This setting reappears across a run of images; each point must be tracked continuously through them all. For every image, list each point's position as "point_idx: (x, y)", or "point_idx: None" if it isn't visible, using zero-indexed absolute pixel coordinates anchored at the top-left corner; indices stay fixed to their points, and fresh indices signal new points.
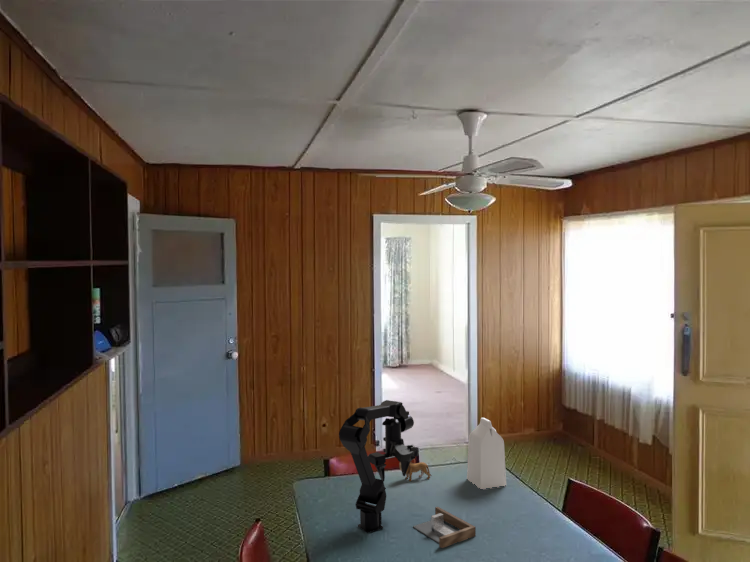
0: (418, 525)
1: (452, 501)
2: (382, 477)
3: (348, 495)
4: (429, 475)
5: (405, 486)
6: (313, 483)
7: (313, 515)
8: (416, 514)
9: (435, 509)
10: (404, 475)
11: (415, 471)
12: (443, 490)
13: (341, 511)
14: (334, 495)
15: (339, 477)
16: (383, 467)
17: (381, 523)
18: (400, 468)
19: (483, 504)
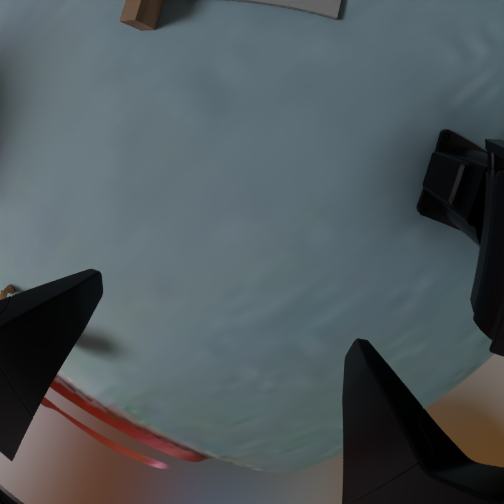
0: (310, 2)
1: (26, 106)
2: (391, 374)
3: (269, 403)
4: (3, 290)
5: None
6: (272, 463)
7: (445, 379)
8: (204, 96)
9: (140, 20)
10: (95, 272)
11: None
12: (6, 199)
13: (391, 355)
14: (297, 421)
15: (200, 447)
16: (467, 473)
17: (434, 152)
18: None
19: (2, 37)
